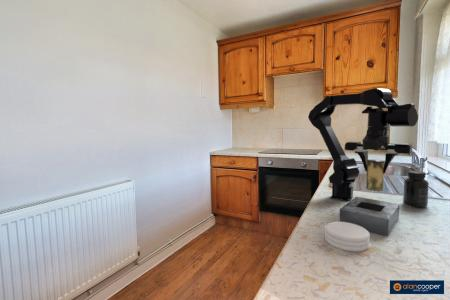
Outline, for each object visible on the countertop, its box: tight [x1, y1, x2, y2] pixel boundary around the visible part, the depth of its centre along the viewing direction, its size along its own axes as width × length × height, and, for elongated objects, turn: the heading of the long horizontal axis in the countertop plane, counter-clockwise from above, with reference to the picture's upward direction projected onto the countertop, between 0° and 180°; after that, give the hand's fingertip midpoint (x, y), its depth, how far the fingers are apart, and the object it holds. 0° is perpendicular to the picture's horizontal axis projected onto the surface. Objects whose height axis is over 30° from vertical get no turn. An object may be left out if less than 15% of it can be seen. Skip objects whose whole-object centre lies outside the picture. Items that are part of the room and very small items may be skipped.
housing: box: [338, 196, 401, 237], centre depth 71 cm, size 12×16×4 cm
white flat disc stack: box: [324, 221, 371, 253], centre depth 59 cm, size 10×10×4 cm
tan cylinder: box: [365, 159, 385, 192], centre depth 81 cm, size 5×5×10 cm
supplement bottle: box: [402, 170, 430, 209], centre depth 83 cm, size 7×7×12 cm
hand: (375, 172), depth 81 cm, fingers closed on tan cylinder, 5 cm apart
